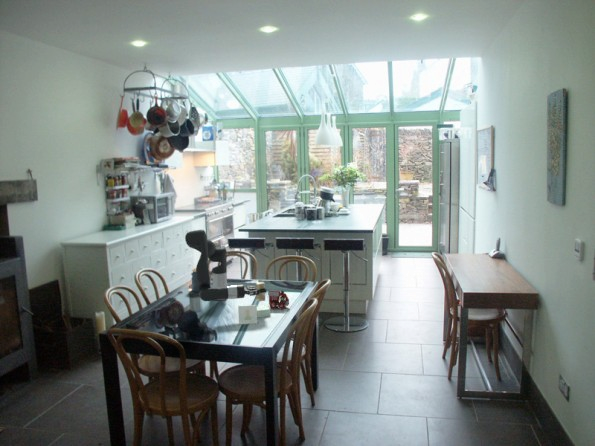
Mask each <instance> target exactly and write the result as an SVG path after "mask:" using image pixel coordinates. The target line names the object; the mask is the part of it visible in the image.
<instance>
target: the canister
mask: <svg viewBox="0 0 595 446" xmlns="http://www.w3.org/2000/svg"><path fill="white" fill-rule="evenodd" d="M191 271H192V272H191V274H190V275H191V291H192V290H193V291H192V292H194V293H199V289H198V281H197V275H196V267H194V268H193V269H192V270H191ZM209 275H211V271H209ZM210 279H211V276H210ZM211 281H212V280H210V287H211V284H212V283H211ZM211 288H212V287H211Z"/></svg>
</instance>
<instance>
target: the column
mask: <svg viewBox="0 0 595 446" xmlns="http://www.w3.org/2000/svg"><path fill="white" fill-rule="evenodd" d="M255 286H256V289H266V283H265V282H264V281H256V282H255ZM256 292H257V291H256ZM255 300H256V301H257V302H265V301H266V292H265V293H260V294H259V295H255Z"/></svg>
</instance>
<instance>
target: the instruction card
mask: <svg viewBox="0 0 595 446" xmlns="http://www.w3.org/2000/svg"><path fill="white" fill-rule="evenodd" d="M257 307H258V304H252V305H251V304H250V305H249V304H248V305H238V309H237V310H238V313H237V314H238V325H254V324H258V317H257Z"/></svg>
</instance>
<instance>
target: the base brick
mask: <svg viewBox="0 0 595 446" xmlns="http://www.w3.org/2000/svg"><path fill="white" fill-rule="evenodd" d="M271 314H272V313H271V308H270V307H268V306H266V305H260V306H257V319H258V318H264V317H269V316H271Z"/></svg>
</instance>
